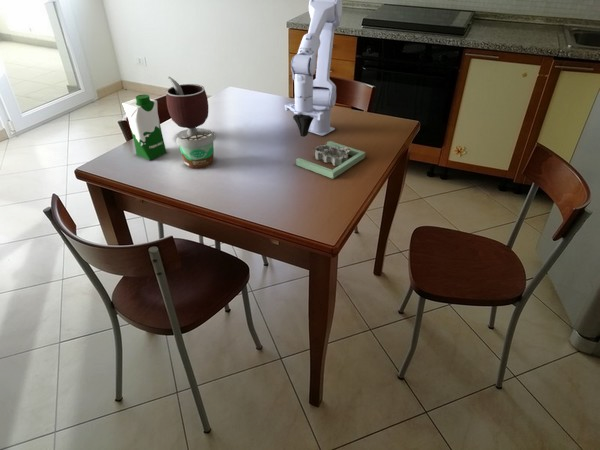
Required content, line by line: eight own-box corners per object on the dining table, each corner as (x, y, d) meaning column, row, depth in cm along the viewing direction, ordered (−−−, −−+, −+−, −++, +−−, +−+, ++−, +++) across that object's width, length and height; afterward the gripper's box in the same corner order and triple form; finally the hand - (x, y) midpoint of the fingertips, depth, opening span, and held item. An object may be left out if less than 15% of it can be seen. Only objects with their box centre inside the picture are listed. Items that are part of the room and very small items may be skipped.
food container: (185, 174, 131) (180, 144, 125) (180, 166, 135) (174, 136, 130) (223, 165, 136) (219, 136, 130) (217, 157, 140) (213, 129, 134)
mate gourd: (220, 135, 155) (213, 80, 143) (190, 148, 146) (180, 90, 135) (193, 125, 163) (184, 72, 151) (163, 136, 154) (151, 81, 143)
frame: (296, 165, 135) (296, 159, 134) (329, 146, 147) (329, 140, 145) (333, 178, 128) (333, 173, 127) (364, 157, 139) (365, 152, 138)
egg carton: (351, 160, 138) (351, 148, 136) (336, 168, 133) (337, 156, 131) (325, 150, 144) (326, 139, 141) (311, 157, 139) (311, 146, 137)
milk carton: (149, 162, 138) (135, 102, 126) (132, 155, 142) (116, 96, 130) (170, 152, 143) (158, 94, 132) (153, 146, 148) (140, 88, 136)
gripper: (277, 93, 133) (279, 134, 141) (314, 103, 125) (314, 145, 133) (292, 87, 137) (293, 127, 145) (328, 97, 130) (327, 138, 138)
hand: (304, 135), depth 140 cm, fingers closed
